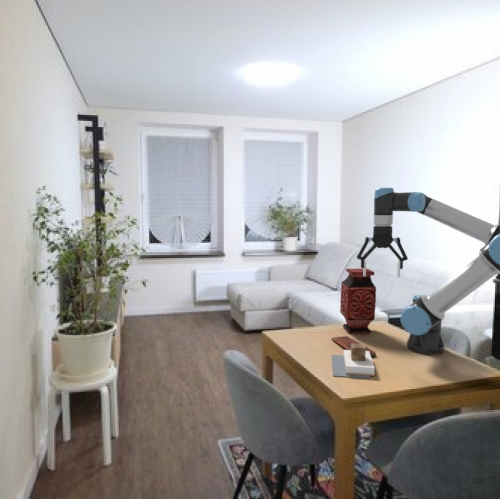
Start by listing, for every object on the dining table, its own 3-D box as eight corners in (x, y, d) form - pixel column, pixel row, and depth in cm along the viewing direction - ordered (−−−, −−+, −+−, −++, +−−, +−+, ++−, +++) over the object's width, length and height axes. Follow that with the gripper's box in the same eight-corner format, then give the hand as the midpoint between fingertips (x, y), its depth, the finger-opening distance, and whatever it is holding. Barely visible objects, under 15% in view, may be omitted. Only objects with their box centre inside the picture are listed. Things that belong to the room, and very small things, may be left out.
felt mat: (364, 357, 177) (364, 356, 177) (370, 378, 155) (370, 377, 155) (331, 355, 179) (331, 354, 179) (333, 376, 157) (333, 375, 157)
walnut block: (364, 356, 168) (364, 344, 168) (365, 361, 163) (365, 348, 163) (350, 355, 169) (351, 343, 169) (351, 360, 164) (351, 347, 164)
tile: (369, 351, 174) (343, 349, 176) (374, 367, 157) (346, 366, 158) (368, 358, 175) (343, 357, 176) (374, 375, 157) (345, 374, 159)
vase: (375, 334, 208) (377, 272, 205) (346, 334, 207) (348, 272, 204) (366, 326, 222) (367, 267, 218) (339, 326, 221) (340, 268, 218)
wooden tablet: (377, 356, 178) (377, 352, 177) (355, 357, 175) (355, 353, 175) (349, 337, 203) (349, 333, 203) (329, 338, 201) (329, 335, 201)
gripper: (412, 225, 182) (410, 275, 184) (351, 224, 186) (350, 274, 188) (416, 226, 175) (414, 278, 177) (352, 225, 178) (351, 277, 181)
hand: (381, 276), depth 182 cm, fingers open, 13 cm apart
